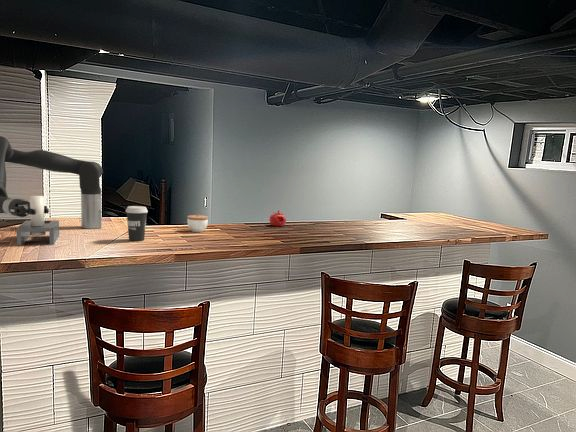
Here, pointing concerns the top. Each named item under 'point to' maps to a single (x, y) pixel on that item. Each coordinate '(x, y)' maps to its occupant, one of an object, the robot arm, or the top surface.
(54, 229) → the keyhole plate
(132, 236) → the coffee cup
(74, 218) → the top surface
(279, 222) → the pomegranate
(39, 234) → the peg
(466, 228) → the top surface
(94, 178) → the robot arm
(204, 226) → the lidded jar
